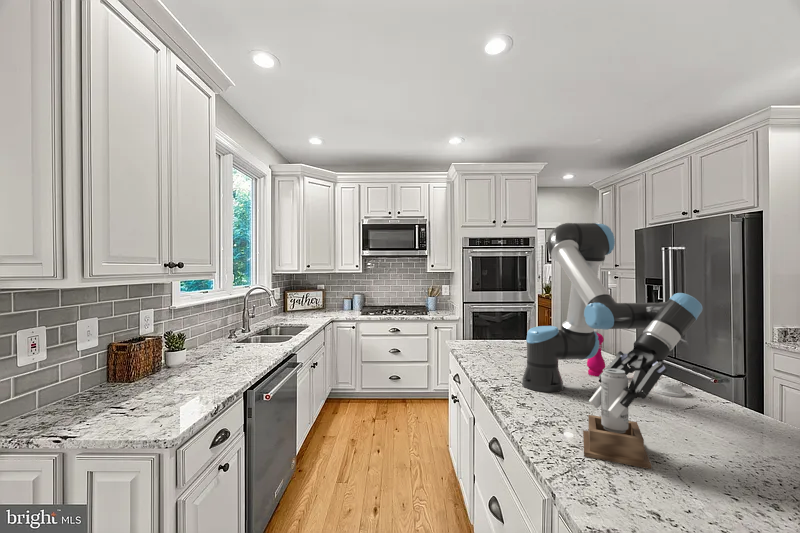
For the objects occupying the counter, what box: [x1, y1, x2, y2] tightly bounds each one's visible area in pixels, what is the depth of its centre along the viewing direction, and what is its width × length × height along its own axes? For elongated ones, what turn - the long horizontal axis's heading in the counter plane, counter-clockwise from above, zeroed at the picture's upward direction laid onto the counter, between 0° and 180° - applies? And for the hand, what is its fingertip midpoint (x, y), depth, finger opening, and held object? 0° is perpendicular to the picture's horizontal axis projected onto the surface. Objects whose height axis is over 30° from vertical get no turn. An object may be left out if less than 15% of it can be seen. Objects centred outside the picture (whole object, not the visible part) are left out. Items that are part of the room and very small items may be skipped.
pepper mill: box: [586, 329, 606, 378], centre depth 165 cm, size 7×7×20 cm
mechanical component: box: [653, 378, 687, 398], centre depth 141 cm, size 10×4×10 cm
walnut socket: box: [582, 414, 652, 470], centre depth 96 cm, size 14×14×6 cm
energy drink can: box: [600, 367, 629, 433], centre depth 96 cm, size 6×6×15 cm
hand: (602, 409), depth 95 cm, fingers closed on energy drink can, 6 cm apart
